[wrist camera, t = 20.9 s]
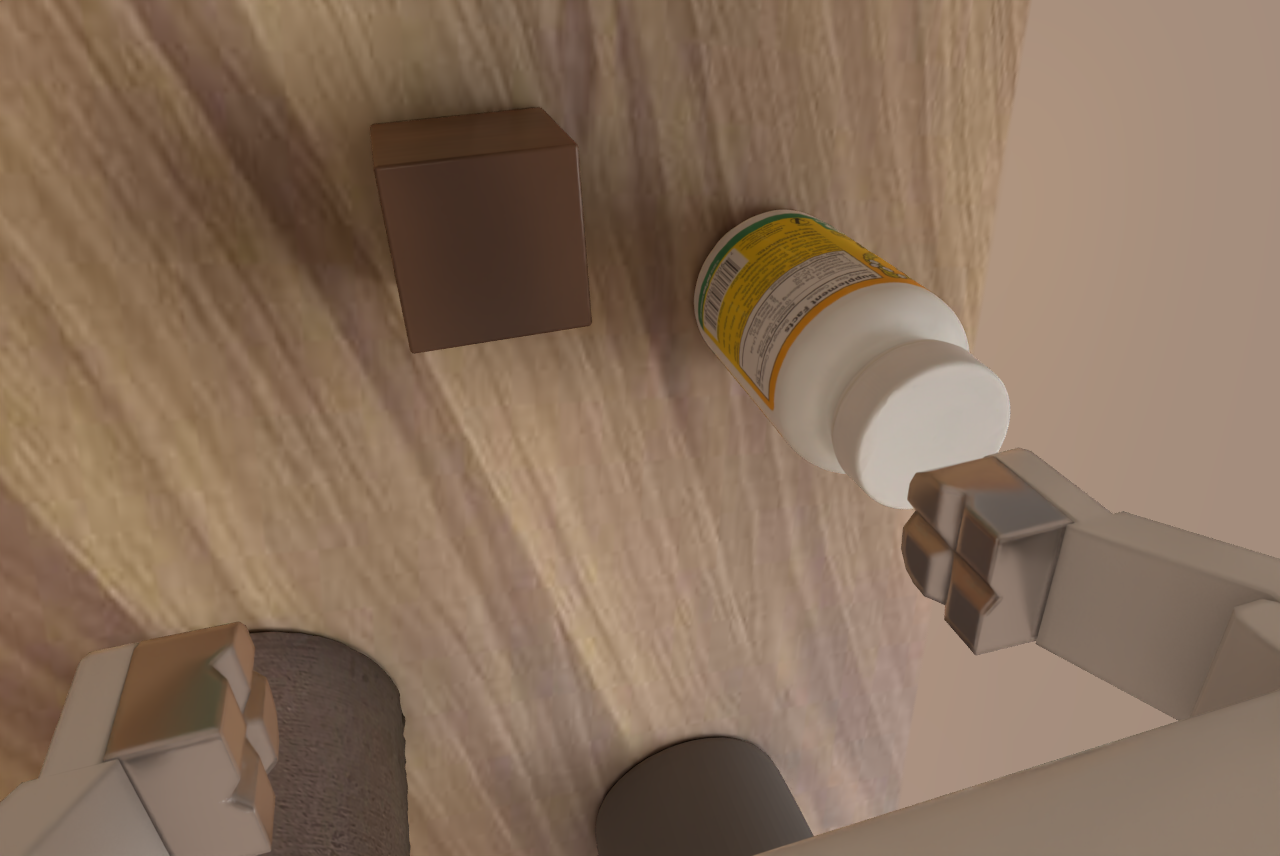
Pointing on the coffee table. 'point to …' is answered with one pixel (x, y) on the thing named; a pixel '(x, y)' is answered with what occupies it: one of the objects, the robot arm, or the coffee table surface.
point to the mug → (700, 804)
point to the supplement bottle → (846, 354)
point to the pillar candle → (334, 750)
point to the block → (483, 226)
